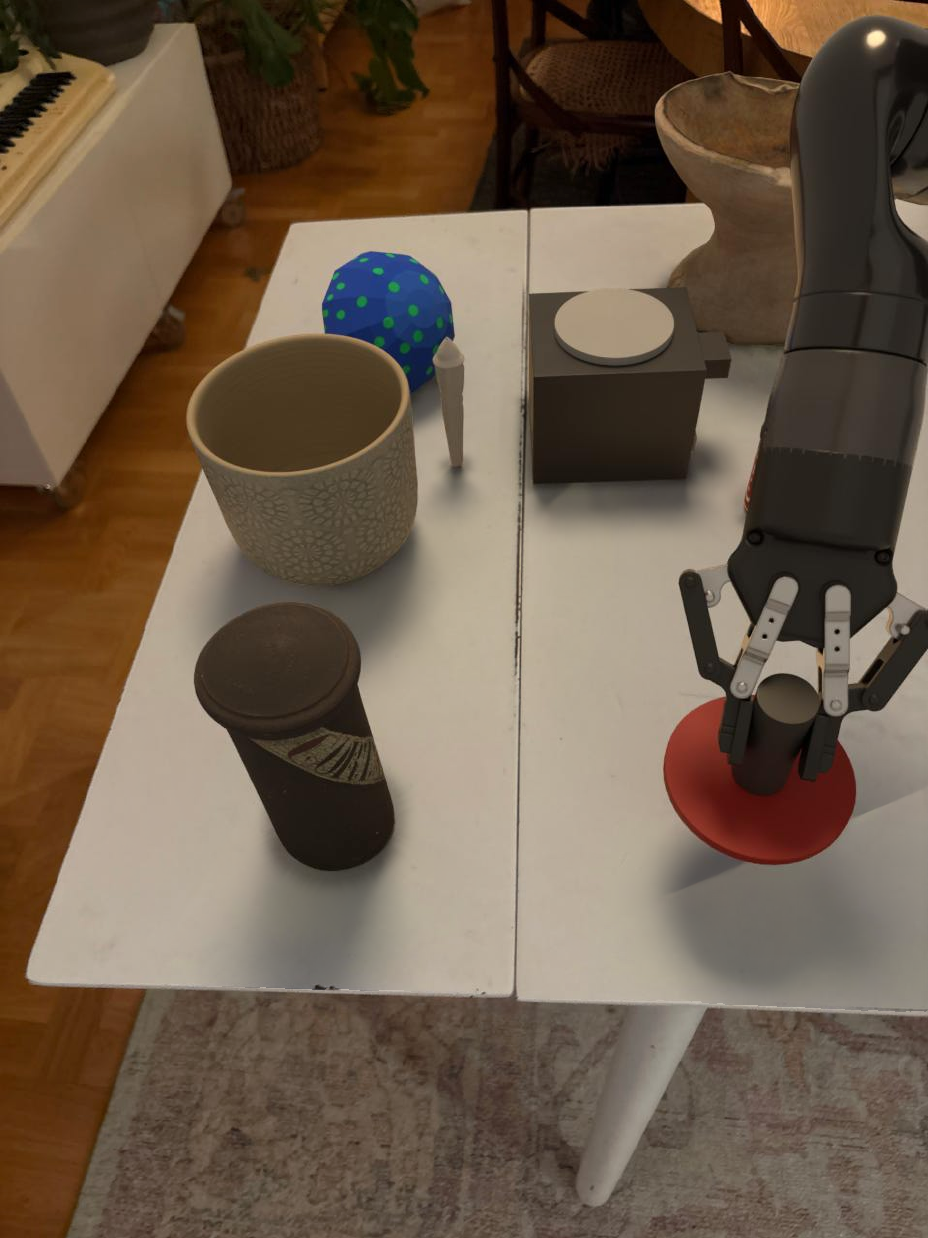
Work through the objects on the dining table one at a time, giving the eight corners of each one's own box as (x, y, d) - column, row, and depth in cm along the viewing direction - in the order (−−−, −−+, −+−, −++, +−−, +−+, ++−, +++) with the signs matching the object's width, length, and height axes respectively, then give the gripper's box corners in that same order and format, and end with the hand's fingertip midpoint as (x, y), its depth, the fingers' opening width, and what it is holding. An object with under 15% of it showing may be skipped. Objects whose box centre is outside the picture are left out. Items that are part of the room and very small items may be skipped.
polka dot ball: (334, 247, 96) (410, 196, 83) (424, 346, 102) (506, 312, 90) (258, 342, 91) (327, 302, 79) (357, 438, 98) (435, 416, 85)
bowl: (901, 368, 91) (979, 167, 75) (647, 374, 92) (671, 178, 76) (844, 232, 106) (898, 42, 91) (627, 240, 108) (644, 54, 92)
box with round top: (700, 394, 90) (722, 276, 80) (720, 478, 82) (746, 360, 72) (528, 400, 91) (528, 284, 81) (532, 484, 83) (533, 368, 73)
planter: (226, 496, 85) (176, 358, 72) (402, 455, 87) (381, 314, 75) (250, 634, 74) (196, 499, 62) (448, 583, 76) (434, 444, 64)
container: (370, 894, 60) (315, 741, 44) (250, 856, 62) (157, 697, 47) (416, 782, 65) (381, 609, 49) (303, 750, 67) (235, 574, 52)
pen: (439, 460, 86) (426, 332, 75) (465, 452, 86) (456, 324, 75) (448, 477, 85) (436, 349, 74) (475, 468, 85) (467, 340, 74)
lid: (828, 699, 57) (868, 612, 50) (874, 864, 51) (927, 791, 44) (653, 702, 58) (668, 618, 51) (675, 867, 51) (696, 795, 44)
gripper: (697, 427, 45) (636, 760, 47) (1008, 467, 42) (925, 821, 44) (696, 439, 52) (643, 728, 55) (960, 474, 49) (892, 778, 52)
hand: (770, 768), depth 49 cm, fingers closed on lid, 3 cm apart
